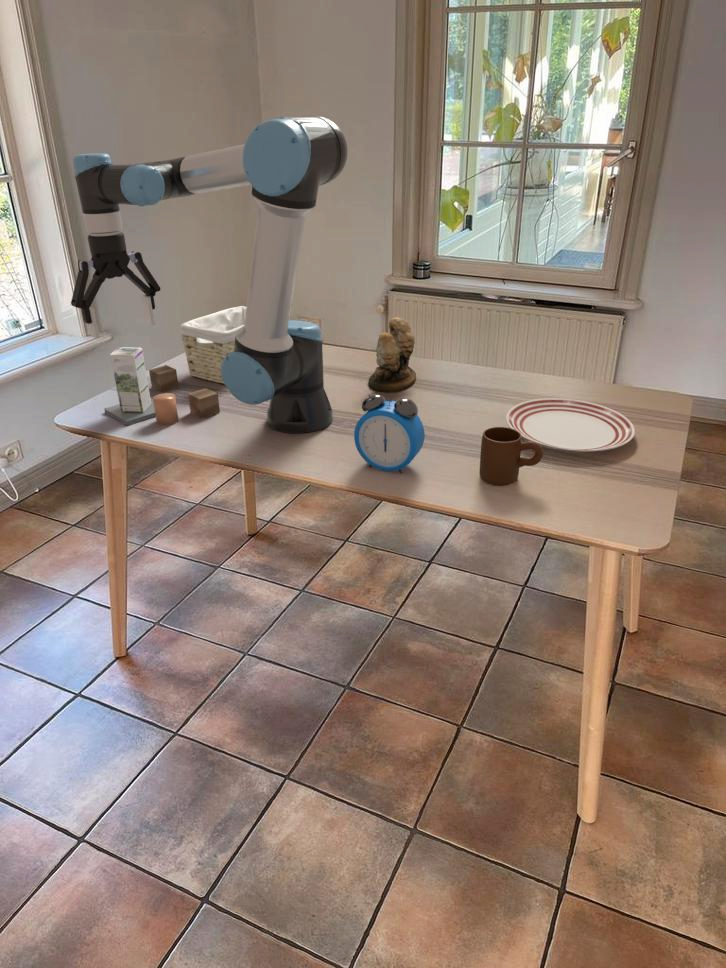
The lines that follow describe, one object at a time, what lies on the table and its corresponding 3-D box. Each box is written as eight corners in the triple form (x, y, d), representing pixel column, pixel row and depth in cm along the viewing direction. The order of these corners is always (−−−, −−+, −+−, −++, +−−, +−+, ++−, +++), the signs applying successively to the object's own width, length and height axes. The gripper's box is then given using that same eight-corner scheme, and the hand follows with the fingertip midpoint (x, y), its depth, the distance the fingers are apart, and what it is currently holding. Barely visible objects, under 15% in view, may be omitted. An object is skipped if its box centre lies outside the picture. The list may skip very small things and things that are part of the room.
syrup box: (152, 404, 177) (142, 346, 170) (143, 413, 171) (133, 354, 164) (129, 403, 177) (119, 345, 170) (120, 412, 172) (109, 353, 165)
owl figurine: (381, 367, 201) (381, 306, 192) (422, 372, 197) (425, 309, 189) (361, 390, 185) (360, 324, 177) (405, 395, 182) (407, 328, 174)
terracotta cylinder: (182, 421, 170) (179, 397, 167) (163, 427, 167) (159, 403, 164) (171, 415, 173) (168, 391, 170) (152, 421, 170) (148, 397, 167)
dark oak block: (178, 387, 189) (176, 369, 187) (161, 392, 186) (158, 374, 184) (168, 383, 192) (166, 365, 190) (151, 388, 189) (148, 369, 187)
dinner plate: (645, 424, 165) (648, 411, 163) (615, 473, 144) (617, 458, 143) (528, 402, 177) (530, 389, 176) (485, 444, 157) (486, 430, 155)
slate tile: (169, 412, 175) (168, 408, 174) (127, 425, 168) (126, 421, 167) (146, 400, 182) (145, 396, 181) (105, 412, 175) (104, 408, 174)
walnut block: (220, 412, 174) (217, 393, 172) (202, 418, 171) (199, 399, 169) (208, 407, 177) (205, 388, 175) (190, 413, 174) (187, 393, 172)
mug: (545, 479, 142) (550, 435, 137) (532, 496, 136) (538, 450, 132) (487, 466, 147) (490, 423, 143) (473, 481, 141) (475, 437, 137)
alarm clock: (353, 466, 148) (352, 398, 141) (365, 454, 153) (364, 387, 146) (414, 478, 143) (416, 407, 136) (424, 464, 148) (426, 396, 141)
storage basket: (243, 353, 213) (238, 303, 206) (286, 362, 205) (282, 311, 198) (183, 377, 196) (176, 323, 189) (228, 389, 188) (222, 333, 181)
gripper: (149, 223, 165) (163, 316, 175) (40, 239, 150) (63, 339, 160) (166, 226, 160) (180, 321, 170) (55, 243, 145) (78, 346, 155)
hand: (123, 330), depth 165 cm, fingers open, 13 cm apart
